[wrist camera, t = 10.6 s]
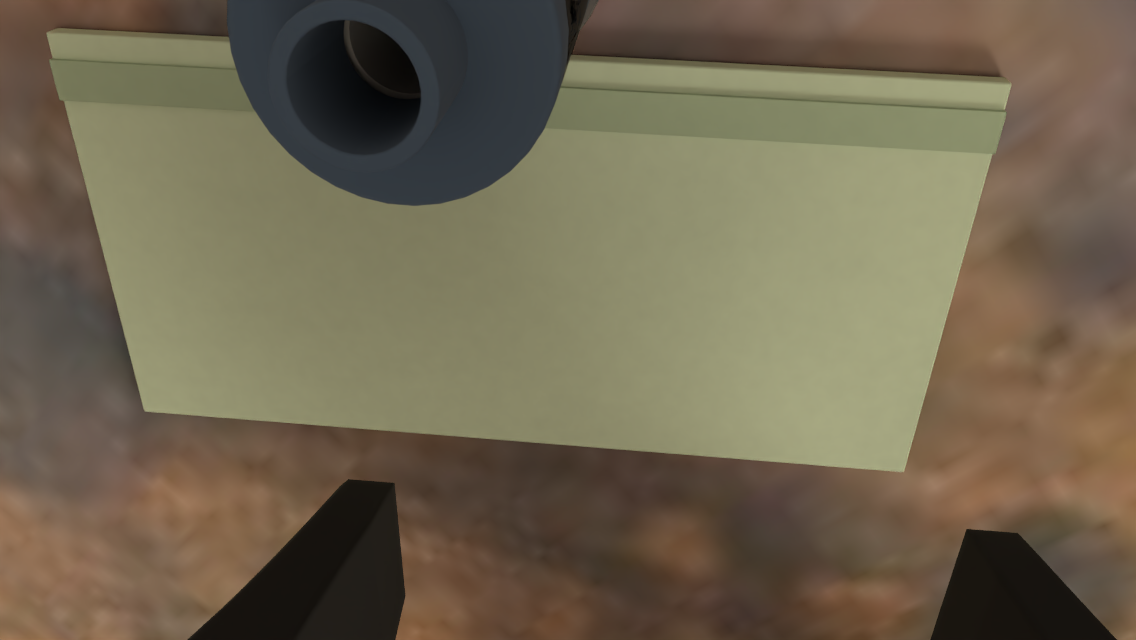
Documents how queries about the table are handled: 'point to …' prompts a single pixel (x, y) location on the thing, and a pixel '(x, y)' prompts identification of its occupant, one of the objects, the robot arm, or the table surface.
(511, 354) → the tray
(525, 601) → the table surface
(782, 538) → the table surface
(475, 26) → the vaping device
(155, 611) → the table surface
